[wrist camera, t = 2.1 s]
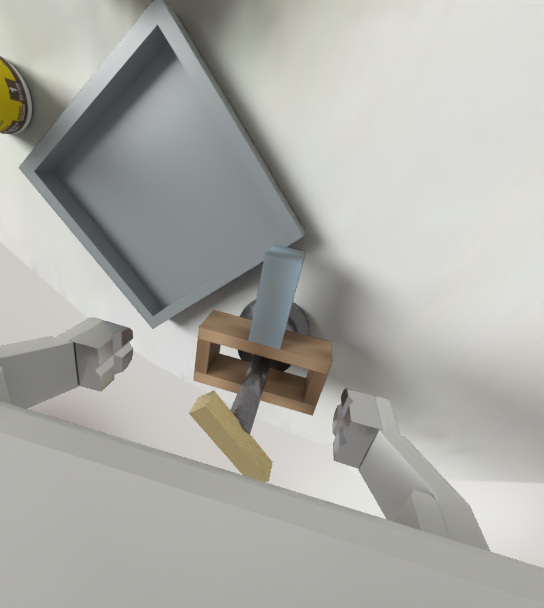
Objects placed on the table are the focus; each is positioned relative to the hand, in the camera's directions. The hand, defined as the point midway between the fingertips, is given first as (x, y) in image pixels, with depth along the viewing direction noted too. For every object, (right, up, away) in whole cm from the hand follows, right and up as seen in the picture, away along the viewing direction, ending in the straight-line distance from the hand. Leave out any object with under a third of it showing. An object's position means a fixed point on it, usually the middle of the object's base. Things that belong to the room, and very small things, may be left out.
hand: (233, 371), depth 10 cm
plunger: (+2, 0, +17) cm, 17 cm away
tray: (-7, +12, +14) cm, 20 cm away
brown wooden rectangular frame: (+2, +1, +12) cm, 13 cm away
